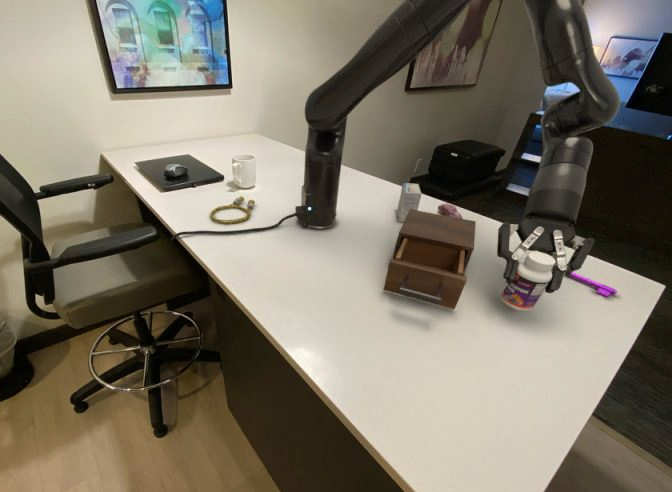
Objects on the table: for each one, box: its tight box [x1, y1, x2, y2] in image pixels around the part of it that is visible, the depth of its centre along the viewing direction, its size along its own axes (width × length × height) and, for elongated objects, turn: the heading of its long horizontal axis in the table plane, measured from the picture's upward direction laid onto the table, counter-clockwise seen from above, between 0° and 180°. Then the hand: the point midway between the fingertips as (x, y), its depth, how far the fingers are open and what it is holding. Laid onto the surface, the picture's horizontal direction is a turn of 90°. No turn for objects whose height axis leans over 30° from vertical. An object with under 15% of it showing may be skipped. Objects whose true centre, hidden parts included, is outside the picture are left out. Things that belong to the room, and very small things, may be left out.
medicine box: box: [396, 182, 422, 223], centre depth 93 cm, size 8×4×9 cm, turn 168°
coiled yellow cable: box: [210, 196, 256, 225], centre depth 96 cm, size 12×16×2 cm
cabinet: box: [392, 209, 477, 276], centre depth 74 cm, size 14×15×9 cm
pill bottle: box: [500, 251, 556, 312], centre depth 58 cm, size 5×5×10 cm
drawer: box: [382, 237, 468, 310], centre depth 64 cm, size 18×13×7 cm
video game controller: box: [437, 202, 464, 219], centre depth 90 cm, size 10×5×7 cm, turn 5°
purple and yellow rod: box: [564, 272, 618, 298], centre depth 71 cm, size 3×1×16 cm
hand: (529, 286), depth 57 cm, fingers closed on pill bottle, 5 cm apart
